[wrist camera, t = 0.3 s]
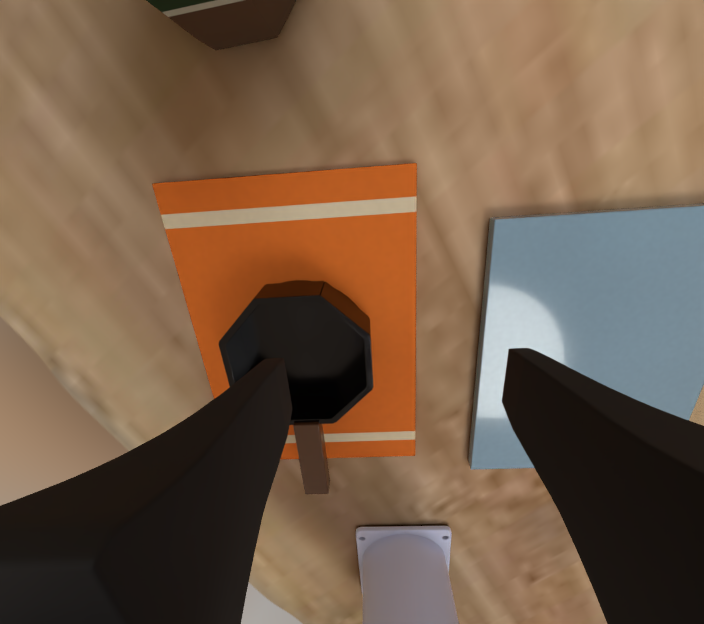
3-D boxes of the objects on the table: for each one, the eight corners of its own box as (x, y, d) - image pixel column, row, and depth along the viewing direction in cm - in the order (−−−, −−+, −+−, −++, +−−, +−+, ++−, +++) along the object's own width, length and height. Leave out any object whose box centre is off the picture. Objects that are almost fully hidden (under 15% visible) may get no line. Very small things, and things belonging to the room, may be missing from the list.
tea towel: (414, 452, 25) (415, 456, 25) (233, 457, 26) (231, 461, 26) (415, 163, 17) (416, 163, 17) (154, 183, 18) (151, 183, 18)
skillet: (226, 283, 20) (204, 303, 17) (367, 275, 20) (368, 294, 17) (267, 460, 26) (256, 495, 23) (377, 456, 25) (379, 493, 22)
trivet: (661, 456, 25) (670, 464, 24) (467, 460, 26) (470, 469, 25) (763, 199, 18) (781, 200, 17) (489, 217, 18) (494, 219, 18)
